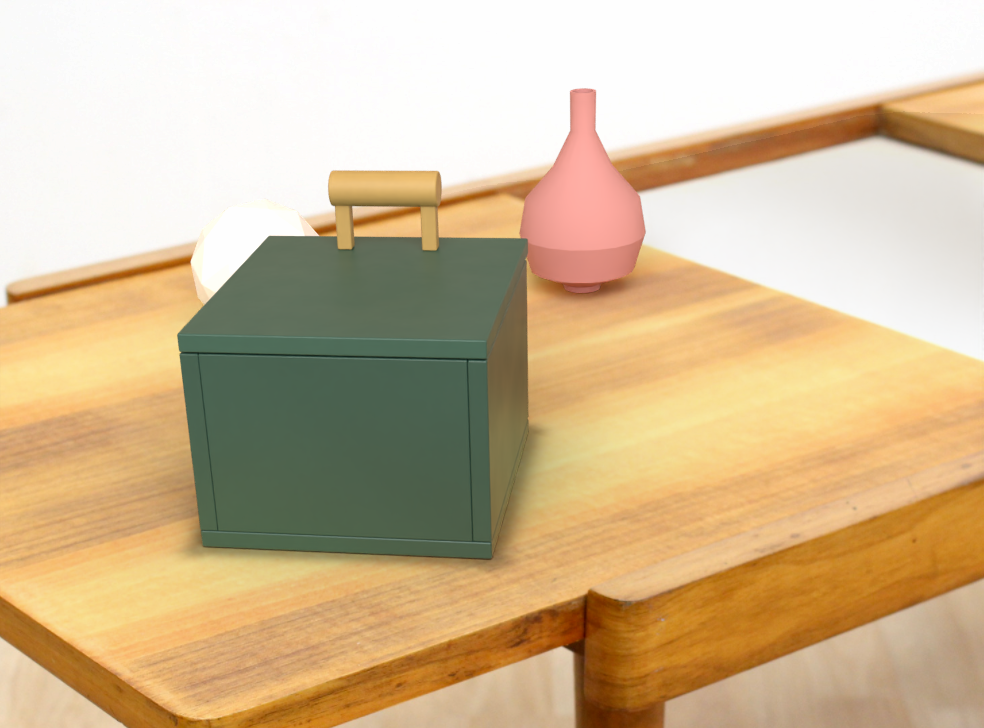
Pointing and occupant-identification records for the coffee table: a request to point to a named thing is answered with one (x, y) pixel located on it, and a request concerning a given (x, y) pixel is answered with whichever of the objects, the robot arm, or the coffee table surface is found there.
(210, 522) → the bin
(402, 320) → the bread bin lid
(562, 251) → the pink vase
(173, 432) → the coffee table surface
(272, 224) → the geometric ball
